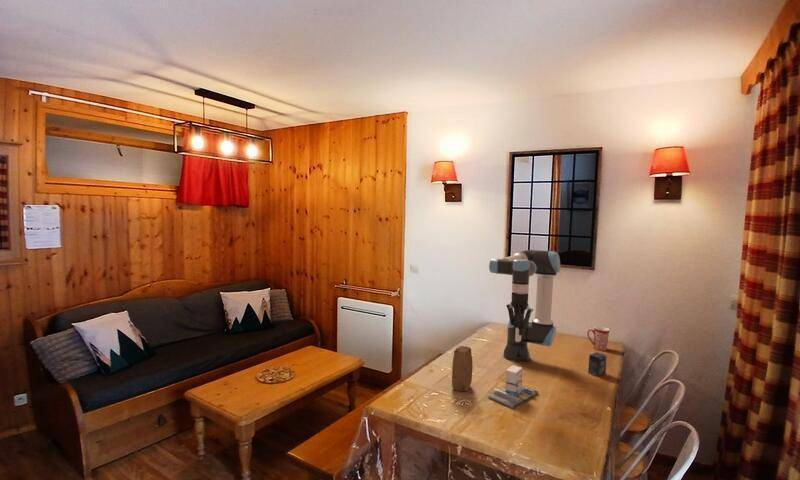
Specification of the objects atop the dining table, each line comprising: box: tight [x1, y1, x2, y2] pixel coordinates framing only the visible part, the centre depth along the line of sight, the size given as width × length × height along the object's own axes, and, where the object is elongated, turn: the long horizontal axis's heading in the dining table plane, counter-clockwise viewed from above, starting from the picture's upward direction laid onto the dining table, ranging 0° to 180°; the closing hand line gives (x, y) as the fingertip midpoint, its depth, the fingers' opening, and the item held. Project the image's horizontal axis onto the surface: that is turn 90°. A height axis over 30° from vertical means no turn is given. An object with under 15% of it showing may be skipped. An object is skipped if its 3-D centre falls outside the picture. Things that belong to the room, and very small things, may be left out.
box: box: [587, 351, 608, 377], centre depth 211 cm, size 8×6×11 cm
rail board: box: [487, 385, 539, 410], centre depth 182 cm, size 13×22×3 cm, turn 132°
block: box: [451, 345, 474, 392], centre depth 189 cm, size 11×8×20 cm
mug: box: [587, 326, 610, 352], centre depth 251 cm, size 13×9×14 cm
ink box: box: [505, 365, 523, 396], centre depth 182 cm, size 9×5×12 cm, turn 142°
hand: (518, 340), depth 185 cm, fingers closed
